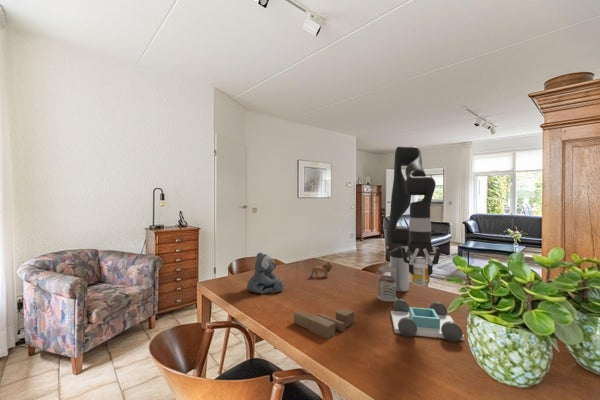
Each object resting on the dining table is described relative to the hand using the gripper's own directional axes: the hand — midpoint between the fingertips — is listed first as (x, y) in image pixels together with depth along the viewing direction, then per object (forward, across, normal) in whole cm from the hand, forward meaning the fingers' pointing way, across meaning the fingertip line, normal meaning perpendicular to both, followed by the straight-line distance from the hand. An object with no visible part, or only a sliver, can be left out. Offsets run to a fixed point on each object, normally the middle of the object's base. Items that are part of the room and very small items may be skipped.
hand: (420, 274), depth 101 cm
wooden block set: (+20, +35, +7) cm, 41 cm away
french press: (+20, +11, -27) cm, 35 cm away
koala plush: (+20, +73, -24) cm, 80 cm away
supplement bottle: (+4, 0, 0) cm, 4 cm away
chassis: (+19, -1, 0) cm, 19 cm away
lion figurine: (+20, +48, -55) cm, 75 cm away
